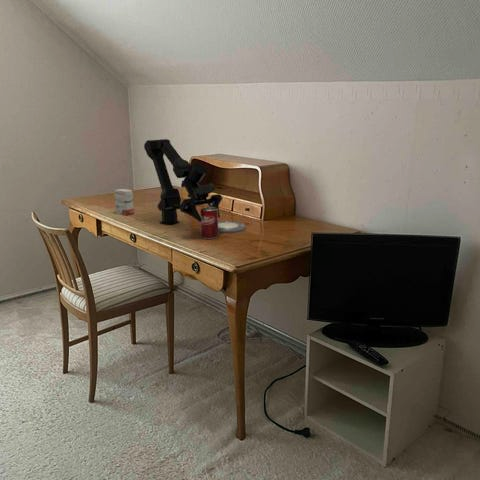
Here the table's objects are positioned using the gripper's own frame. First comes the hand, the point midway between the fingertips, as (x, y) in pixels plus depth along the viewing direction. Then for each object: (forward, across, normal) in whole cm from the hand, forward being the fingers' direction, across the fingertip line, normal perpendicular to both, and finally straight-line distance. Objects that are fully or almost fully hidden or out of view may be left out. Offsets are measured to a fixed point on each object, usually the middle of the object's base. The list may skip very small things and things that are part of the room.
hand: (210, 219), depth 203 cm
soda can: (+5, 0, +6) cm, 8 cm away
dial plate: (0, +15, +10) cm, 18 cm away
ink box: (-37, -7, +48) cm, 61 cm away
